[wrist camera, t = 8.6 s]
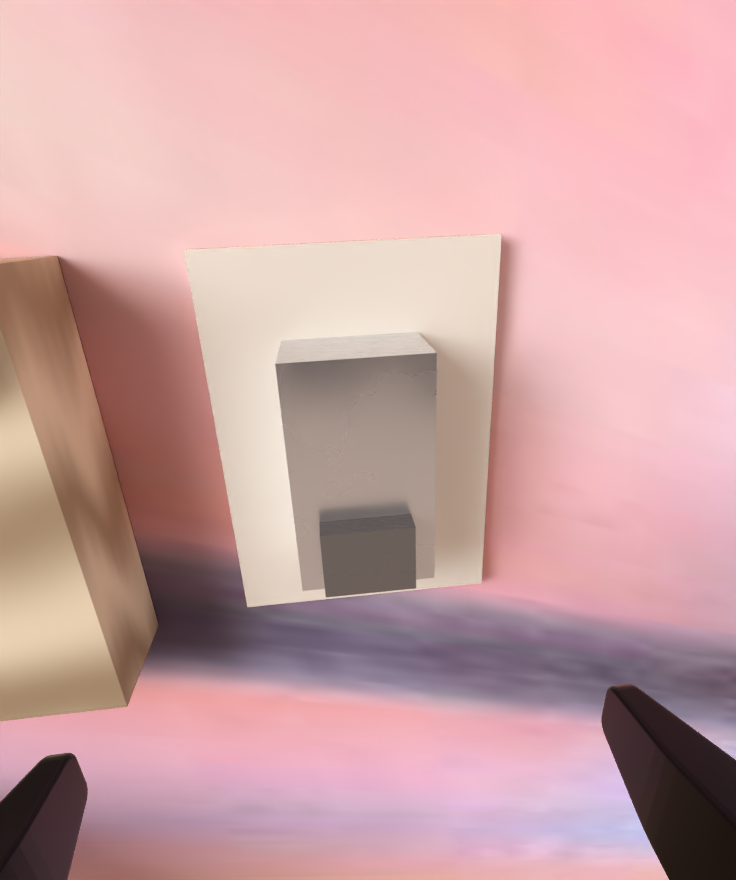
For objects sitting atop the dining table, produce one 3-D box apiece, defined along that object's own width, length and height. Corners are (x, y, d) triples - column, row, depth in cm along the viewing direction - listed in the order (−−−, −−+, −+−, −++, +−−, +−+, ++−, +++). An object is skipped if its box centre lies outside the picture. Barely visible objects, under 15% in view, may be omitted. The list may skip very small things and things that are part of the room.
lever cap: (418, 529, 20) (439, 592, 17) (304, 540, 20) (302, 607, 17) (417, 331, 17) (443, 359, 14) (281, 340, 17) (273, 371, 13)
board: (477, 574, 22) (481, 583, 22) (249, 597, 22) (247, 606, 21) (495, 233, 17) (501, 234, 16) (188, 249, 16) (183, 250, 16)
